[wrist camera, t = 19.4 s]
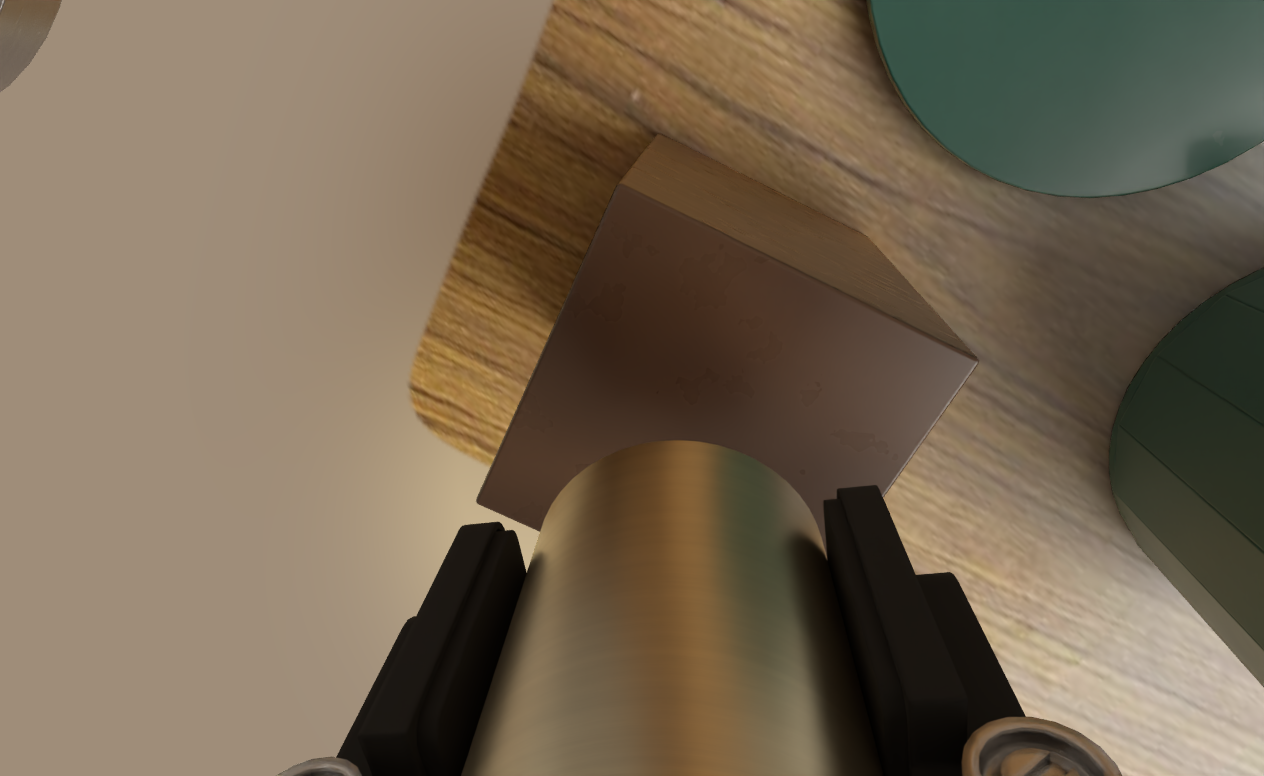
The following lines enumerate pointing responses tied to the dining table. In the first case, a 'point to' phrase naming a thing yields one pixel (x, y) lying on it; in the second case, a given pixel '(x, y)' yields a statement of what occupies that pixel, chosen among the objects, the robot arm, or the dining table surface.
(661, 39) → the dining table surface
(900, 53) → the lid
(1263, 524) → the pot
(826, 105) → the dining table surface
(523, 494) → the block
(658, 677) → the tin
